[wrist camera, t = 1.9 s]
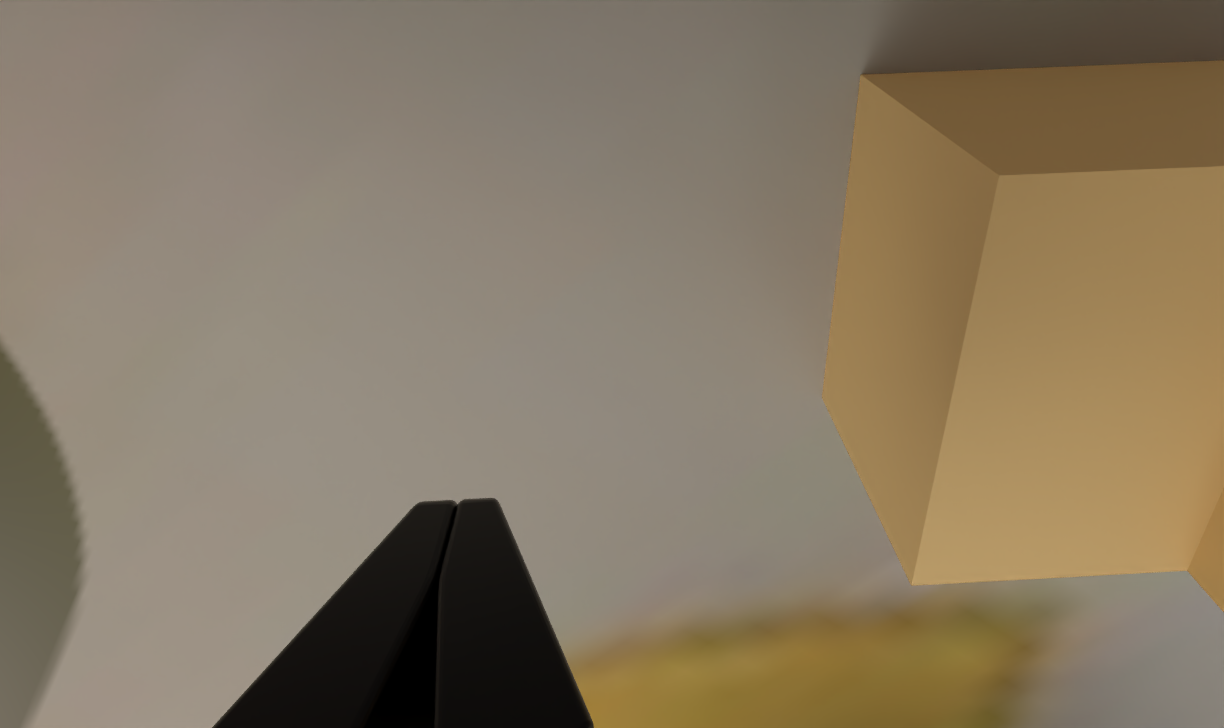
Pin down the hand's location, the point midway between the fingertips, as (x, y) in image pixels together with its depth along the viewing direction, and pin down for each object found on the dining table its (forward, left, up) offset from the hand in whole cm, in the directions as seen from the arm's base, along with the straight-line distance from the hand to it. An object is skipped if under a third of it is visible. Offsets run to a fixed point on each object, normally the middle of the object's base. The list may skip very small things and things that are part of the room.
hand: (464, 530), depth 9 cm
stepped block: (0, -9, -7) cm, 11 cm away
